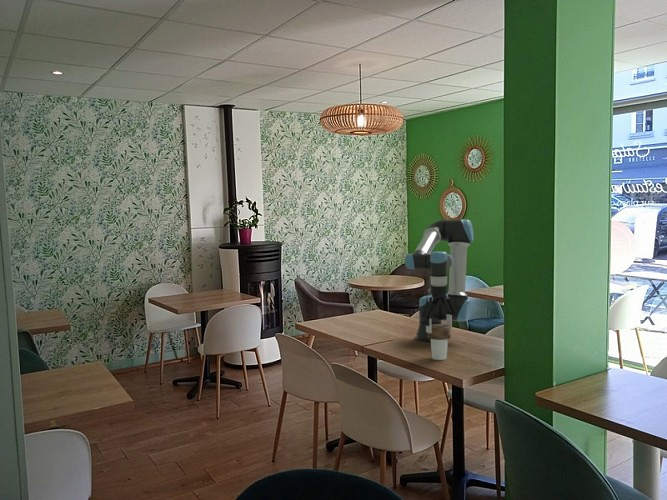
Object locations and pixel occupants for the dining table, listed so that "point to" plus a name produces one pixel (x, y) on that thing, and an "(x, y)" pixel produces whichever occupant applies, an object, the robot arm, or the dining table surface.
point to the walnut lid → (440, 332)
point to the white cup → (439, 349)
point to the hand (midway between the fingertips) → (439, 330)
